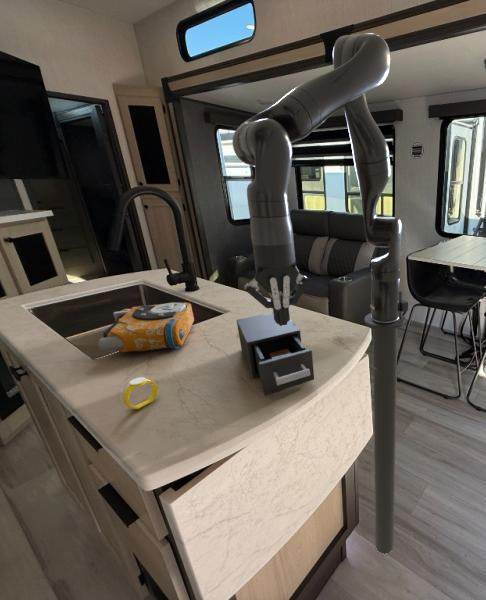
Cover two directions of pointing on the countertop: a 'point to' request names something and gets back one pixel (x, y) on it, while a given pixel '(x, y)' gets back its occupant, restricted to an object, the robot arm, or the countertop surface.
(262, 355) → the open drawer cabinet
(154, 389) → the watch
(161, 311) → the device
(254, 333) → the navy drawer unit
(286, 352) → the block
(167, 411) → the countertop surface
